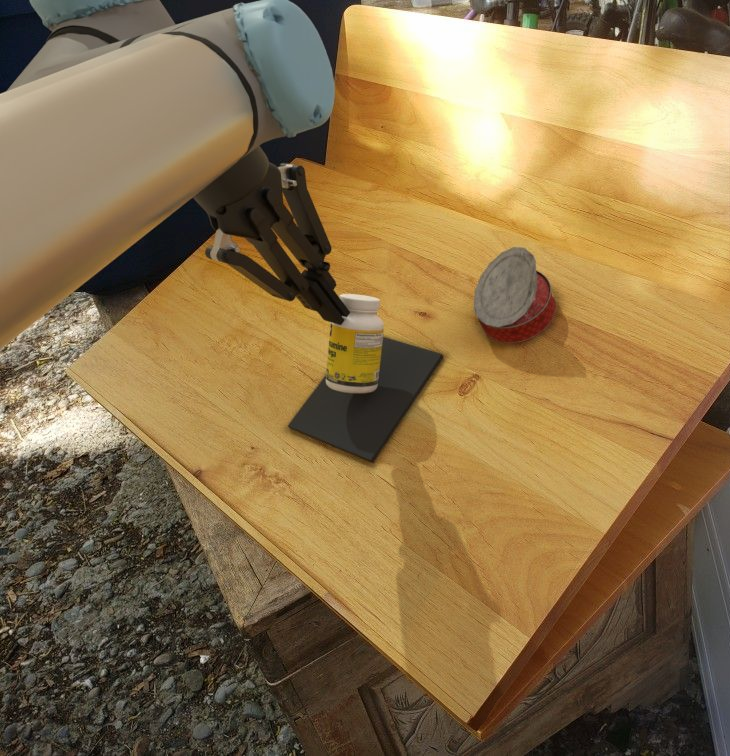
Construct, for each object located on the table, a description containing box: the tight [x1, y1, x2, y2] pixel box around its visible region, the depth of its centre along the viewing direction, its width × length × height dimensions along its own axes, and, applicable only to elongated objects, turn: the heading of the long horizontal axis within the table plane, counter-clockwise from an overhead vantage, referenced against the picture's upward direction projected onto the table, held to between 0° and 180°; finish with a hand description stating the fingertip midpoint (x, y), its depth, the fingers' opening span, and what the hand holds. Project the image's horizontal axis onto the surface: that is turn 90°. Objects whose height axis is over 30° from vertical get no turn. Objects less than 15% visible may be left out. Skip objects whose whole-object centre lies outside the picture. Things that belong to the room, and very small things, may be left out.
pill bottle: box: [325, 293, 385, 393], centre depth 81 cm, size 6×6×11 cm
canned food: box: [473, 246, 557, 344], centre depth 83 cm, size 11×10×10 cm
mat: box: [287, 336, 444, 463], centre depth 85 cm, size 16×14×1 cm
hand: (336, 316), depth 78 cm, fingers closed
